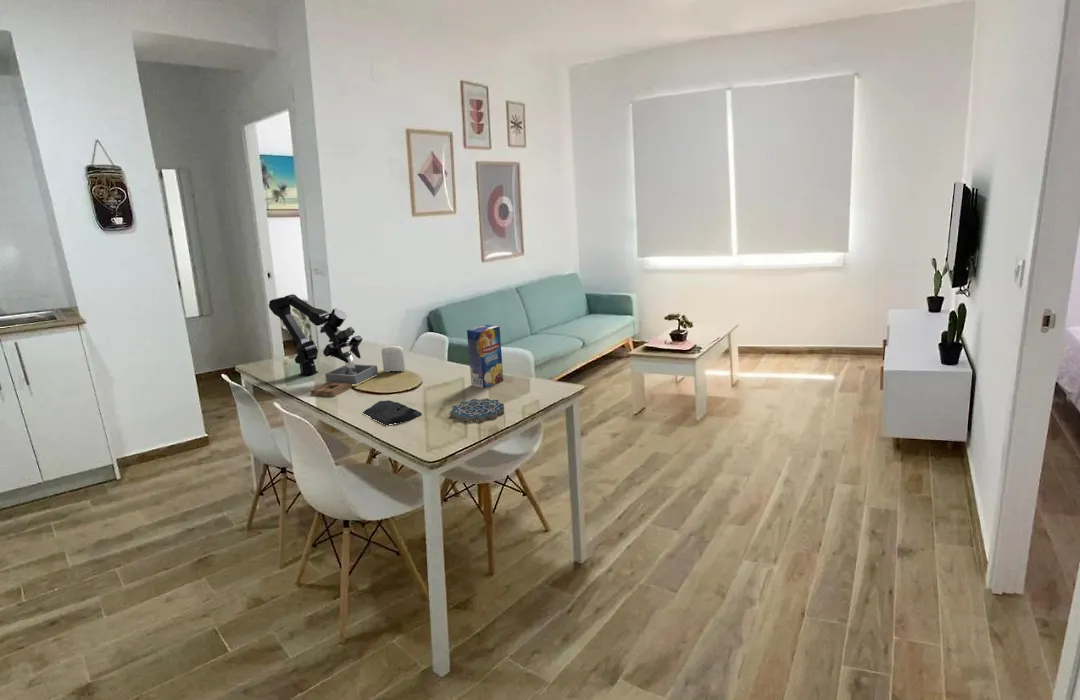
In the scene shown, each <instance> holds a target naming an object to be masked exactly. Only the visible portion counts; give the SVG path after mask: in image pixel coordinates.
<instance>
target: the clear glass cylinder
mask: <svg viewBox="0 0 1080 700" xmlns="http://www.w3.org/2000/svg"><path fill="white" fill-rule="evenodd" d="M343 354H344V355H345V356H346V358H347V359H348V363H346V362H344V363H345V364H344V365H346V367H347V370H348V373H349V375H356V374H357V371H356V368H355V365H354V364H355V362H354V358H353V355H352V352H351V351H350V350H349V351H344V352H343Z"/></svg>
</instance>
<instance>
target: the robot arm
mask: <svg viewBox="0 0 1080 700" xmlns="http://www.w3.org/2000/svg"><path fill="white" fill-rule="evenodd" d="M291 307H292V308H294V309H295V310H296V311H299V312H300V313H302V314H303V315H305V316H306V317H307V318H308V319H309V322H310V323H312V324H313V325H314V326H316V327H317V326H318V327H319V326H321V325H322V326H321V327H320V330H319V331H320V334H323V333H324V334H326V336H327V337H328V339H329V340H328V342H329V344H326V346H325V347H324V349H323V351H322V353H323V355H324V357H325V358H326V357H334V358H336V359H338V360H340V361H343V362H344V363H345V362H346V363H348V359H347V358H346V356H345V355H344V354H343V353H344V352H343V351H342V349H343V348H346V347H349V351H350V352H351V354H353V355H354V356H355V357H356V358H358V359H361V354H360V350H359V346H360V344H362V341H363V339H364V338H363V337H362V336H361V335H355V336H354V334H355V333H356V331H355V328H353V327H352V326H349V327H347V328H346V329H344V330H340V329H339V328H340V327H342V325H343V324H344V322H345V321H346V319H347V317H348V315H347V313H346V312H345V311H343V310H340V309H338V308H337V307H335V308H333V309H332V311H331V312H330V313H329V312H328V311H327V310H324V309H322V308H316V307H314V306H312V305H310V304H309V303H307V302H305V301H304V300H303V299H301V298H300V297H298V296H297V295H296V294H288V295H285V296H284V297H282V296H281V297H277V298H273V299H271V300H270V301H269V302H268V308H269V309H270V310H271V312H272V313H273V314H274V315H275V316H277V318H280V319H281V321H282V323H283V324H284V326H285V327H286V329H287V331H288V332H289V334H290V336H291V337H292V339H293V341H294V342H295V344H296V352H297V355H296V356H295V358H294V362H295V364H298V365H299V369H300V373H298V376H303V377H304V376H306V377H311V376H312V375H315V374H317V373H319V370H317V367H316V364H315V360H317V359H318V353H319V350H318V346H317V345H316V344H315V341H314V340H312V339H311V340H309V339H307V338H306V336H305V334H304V333H303V331H302V330H301V328H300V326H299V324H298V323H297V321H296V320H295V317H294V316H293V315H292V311H291ZM351 336H353V337H351ZM350 337H351V339H350Z"/></svg>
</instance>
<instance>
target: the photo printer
mask: <svg viewBox="0 0 1080 700" xmlns="http://www.w3.org/2000/svg"><path fill="white" fill-rule="evenodd" d="M381 359H382V366H383V372H384V373H391V372H390V371H398V372H397V373H403V372H402V371H404V372H405V371H406V362H405V354H404V347H402V346H399V345H387V346H383V347H381ZM399 371H401V372H399Z"/></svg>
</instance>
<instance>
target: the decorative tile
mask: <svg viewBox="0 0 1080 700" xmlns="http://www.w3.org/2000/svg"><path fill="white" fill-rule="evenodd" d="M451 409H452V410H450V411H449V414H450V417H451V416H452V417H451V418H455V421H456V420H465V421H464V422H466V421H467V422H470V423H472V422H471V421H474V422H479V421H482V422H481V423H484V422H486V421H488V420H497V419H498V416H501V415H505V404H504V403H501V402H500V401H499V400H498V399H492V400H491V399H490V398H488V397H487V398H481V399H477V398H472V399H471V400H469V401H468V400H467V401H466V400H465V401H460V402H459V404H457V405H452V406H451ZM487 419H488V420H487ZM476 420H477V421H476ZM485 420H486V421H485ZM483 421H484V422H483ZM467 422H466V423H467Z"/></svg>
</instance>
